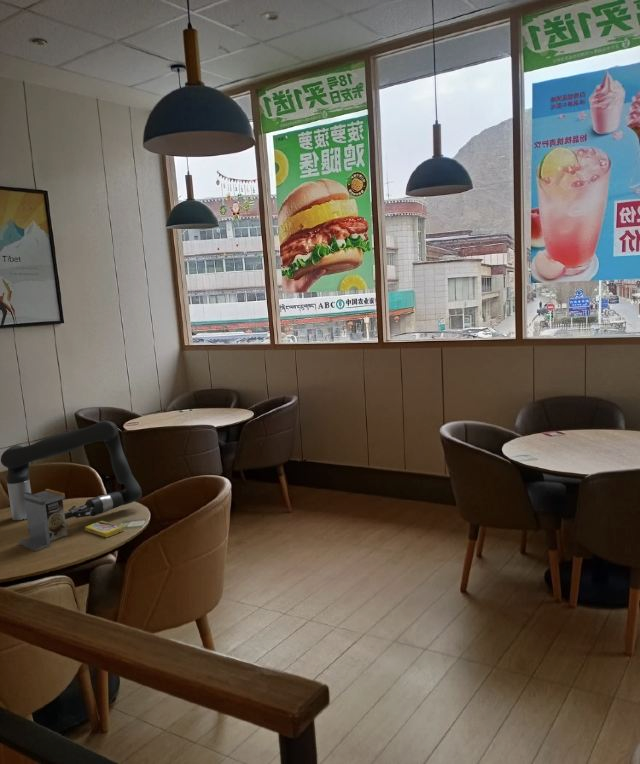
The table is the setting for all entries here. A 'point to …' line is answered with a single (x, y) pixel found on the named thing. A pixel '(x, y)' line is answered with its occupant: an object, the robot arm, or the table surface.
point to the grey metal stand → (39, 518)
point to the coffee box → (56, 519)
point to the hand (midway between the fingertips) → (62, 517)
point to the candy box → (104, 529)
